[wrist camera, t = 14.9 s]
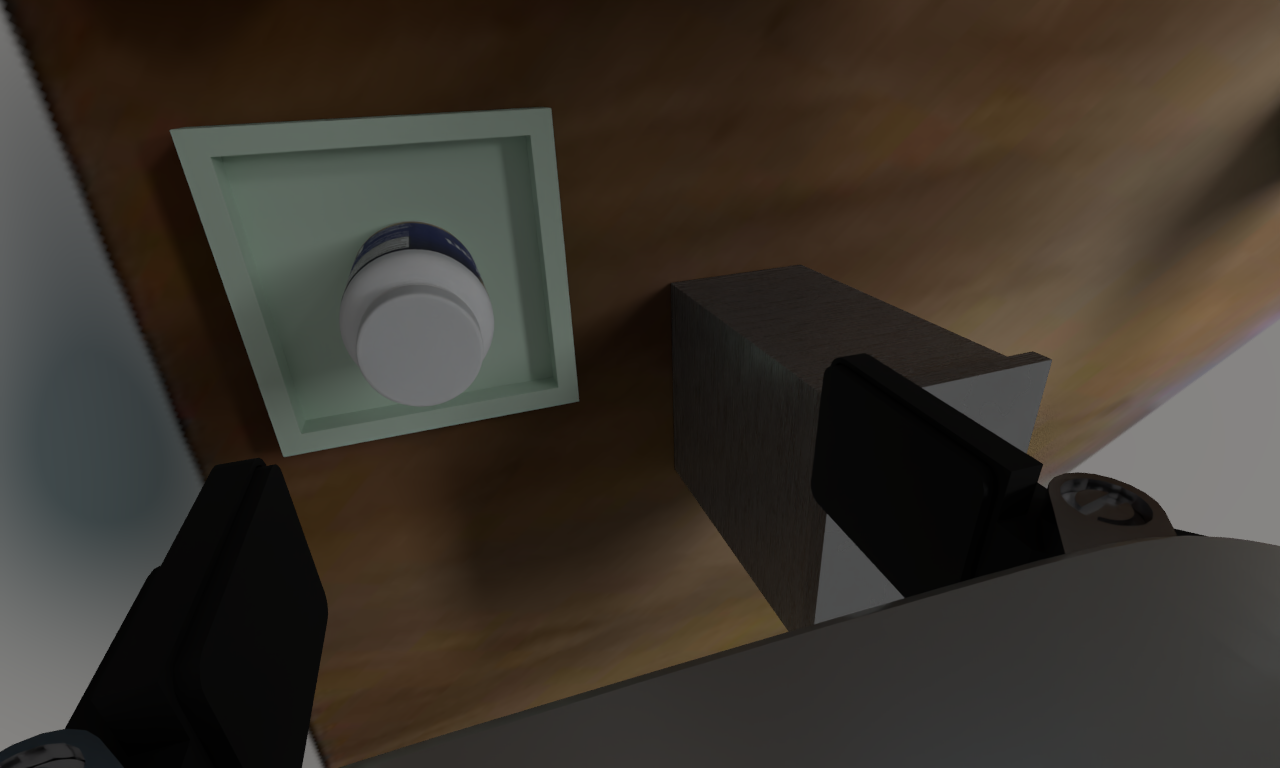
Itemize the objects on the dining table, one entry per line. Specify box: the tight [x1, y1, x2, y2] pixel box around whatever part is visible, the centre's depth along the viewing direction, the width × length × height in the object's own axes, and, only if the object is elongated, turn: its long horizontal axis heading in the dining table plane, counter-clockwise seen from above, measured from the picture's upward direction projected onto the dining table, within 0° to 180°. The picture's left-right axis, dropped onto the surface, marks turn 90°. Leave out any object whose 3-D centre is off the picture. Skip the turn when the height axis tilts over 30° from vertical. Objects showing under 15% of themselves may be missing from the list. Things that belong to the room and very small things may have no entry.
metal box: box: [671, 265, 1052, 632], centre depth 30 cm, size 9×13×16 cm
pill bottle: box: [339, 221, 494, 407], centre depth 24 cm, size 5×5×10 cm
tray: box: [170, 107, 579, 457], centre depth 28 cm, size 14×14×2 cm
